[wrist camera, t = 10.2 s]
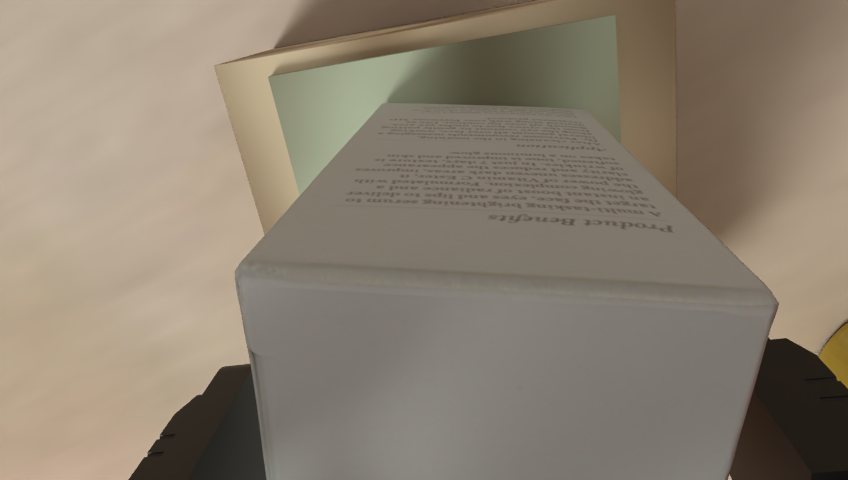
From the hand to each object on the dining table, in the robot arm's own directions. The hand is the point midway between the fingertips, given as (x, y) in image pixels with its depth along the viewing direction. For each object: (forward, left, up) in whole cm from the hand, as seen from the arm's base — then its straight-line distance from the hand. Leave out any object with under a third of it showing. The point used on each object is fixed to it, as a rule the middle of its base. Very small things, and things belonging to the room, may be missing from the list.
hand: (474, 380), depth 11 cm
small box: (0, 0, -7) cm, 7 cm away
